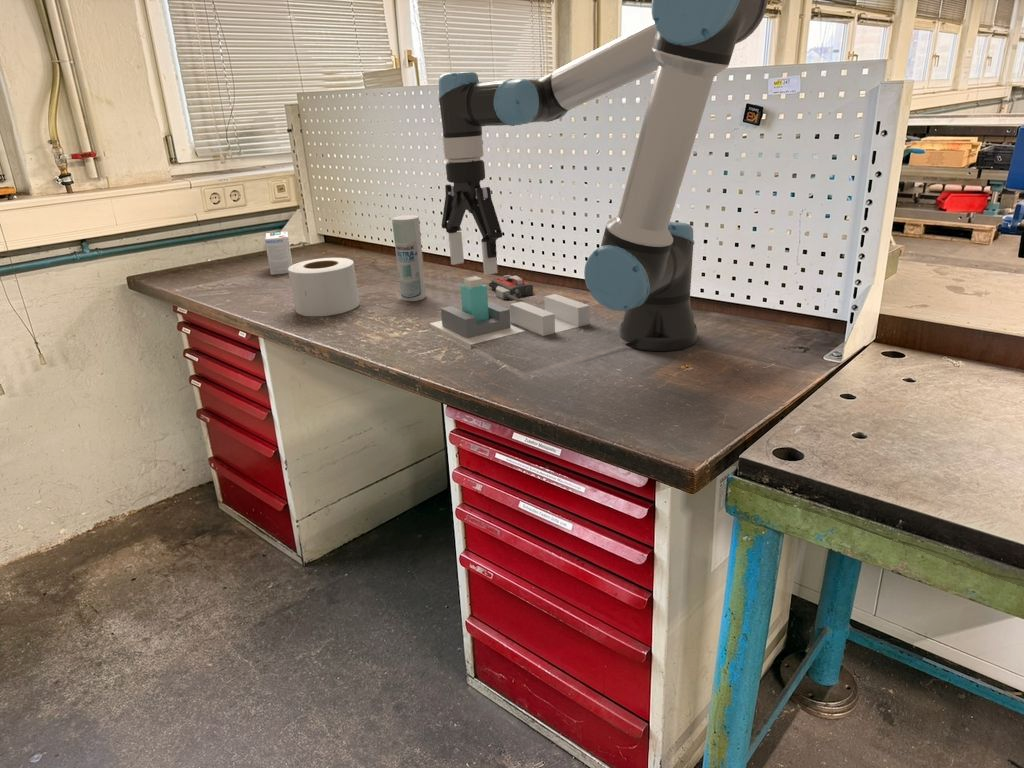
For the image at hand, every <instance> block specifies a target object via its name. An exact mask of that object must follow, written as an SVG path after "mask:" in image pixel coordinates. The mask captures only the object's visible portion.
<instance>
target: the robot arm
mask: <svg viewBox="0 0 1024 768" xmlns="http://www.w3.org/2000/svg"><path fill="white" fill-rule="evenodd" d="M767 7H768V0H651V16H652V20H651V21H648V22H647V23H644V24H643V25H641V26H639V27H638V28H635V29H633V30H632V31H630V32H628V33H626V34H623V35H621V36H620V37H618V38H616V39H614V40H612V41H610V42H608V43H606V44H605V45H602V46H600V47H599V48H596V49H594V50H592V51H591V52H589V53H587V54H585V55H583V56H581V57H579V58H577V59H575V60H573V61H571V62H569V63H567V64H565V65H563V66H561V67H559V68H558V69H555V70H554V71H553V72H550V73H547V74H546V75H544V76H542V77H539V78H536V79H525V78H521V79H520V78H509V79H505V80H496V81H495V80H494V81H485V82H482V81H479V76H478V74H477V72H474V71H461V72H459V71H458V72H448V73H443V74H441V75H440V77H439V78H438V102H439V109H440V115H441V125H442V142H443V152H444V159H445V160H447V162H446V164H445V172H446V180H447V182H448V184H445V185H444V186H445V187H444V188H445V189H444V190H445V191H444V192H445V198H444V203H443V205H444V206H443V212H442V220H441V229H445V231H446V233H448V234H447V235H448V242H449V244H448V245H449V246H448V247H449V254H450V264H451V265H460V264H465V258H464V248H463V247H464V246H463V236H462V231H463V230H462V228H461V225H462V222H463V219H464V216H465V213H466V211H468V213H469V214H472V217H473V219H474V221H475V223H476V225H477V228H478V229H479V231H480V232H479V233H480V234H481V236H482V239H481V241H480V242H481V253H482V265H483V266H482V267H483V275H485V276H488V275H493V274H498V260H497V259H498V257H497V255H498V254H497V240H498V239H500V238H502V237H503V232H502V228H501V225H500V222H499V218H498V216H497V212H496V209H495V205H494V203H493V199H492V192H491V188H490V186H486V187H485V186H484V187H481V182H482V181H483V180H485V178H486V169H485V168H486V167H485V161H484V160H483V159H481V158H483V157H484V148H483V147H484V140H483V127H487V126H488V127H489V126H490V127H495V126H500V127H501V126H510V127H515V126H521V125H526V124H527V125H528V124H530V123H541V122H544V123H545V122H546V123H549V122H553V121H556V120H559V119H561V118H563V117H564V116H566V114H567V113H568V111H570V110H572V109H575V108H576V107H579V106H581V105H584V104H586V103H587V102H590V101H592V100H594V99H596V98H598V97H601V96H603V95H606V94H607V93H610V92H611V91H614V90H616V89H618V88H620V87H623V86H626V85H627V84H629V83H632V82H634V81H637V80H639V79H640V78H643V77H645V76H648V75H649V74H652V73H654V72H656V73H655V76H654V80H653V83H652V88H651V91H650V95H649V98H648V102H647V106H646V109H645V112H644V113H645V114H644V117H643V120H642V124H641V129H640V132H639V134H638V140H637V143H636V146H635V147H636V148H635V151H634V155H633V157H632V162H631V165H630V169H629V173H628V177H627V181H626V185H625V189H624V192H623V195H622V199H621V203H620V206H619V210H618V214H617V216H616V217H613V218H612V219H610V220H608V221H607V223H606V225H605V229H604V232H603V236H602V240H601V243H600V244H601V245H600V246H599V247H598V248H596V249H595V250H593V252H592V253H591V254H590V255H589V256H588V258H587V260H586V262H585V266H584V274H583V275H584V282H585V286H586V288H587V290H589V292H590V294H591V296H592V298H593V299H594V300H595V301H596V302H597V303H598V304H600V305H601V306H602V307H604V308H606V309H607V310H611V311H614V312H623V311H625V313H624V314H623V315H624V316H623V320H622V322H621V323H620V326H619V337H620V338H621V339H622V340H624V341H625V342H626V343H624V345H626V346H628V347H631V348H634V349H636V350H637V349H638V350H643V351H651V352H652V351H653V352H668V351H669V352H671V351H678V350H683V349H686V348H689V347H691V346H693V345H694V344H696V342H697V341H698V326H697V324H696V323H695V319H694V313H693V309H692V304H691V287H692V273H693V272H692V271H693V255H694V245H695V240H694V228H693V226H692V225H690V224H689V223H686V222H677V221H671V219H672V215H673V211H674V209H675V206H676V202H677V199H678V196H679V192H680V189H681V186H682V184H683V179H684V176H685V173H686V170H687V168H688V167H687V166H688V164H689V160H690V156H691V153H692V150H693V147H694V144H695V142H696V141H695V140H696V139H697V138H696V137H697V135H698V130H699V127H700V124H701V121H702V118H703V115H704V111H705V108H706V105H707V101H708V98H709V96H710V92H711V88H712V86H713V82H714V80H715V77H716V76H717V75H718V74H719V73H721V72H723V70H725V69H728V67H729V65H730V63H731V59H732V56H733V53H734V50H735V47H736V44H738V43H741V42H743V41H744V40H746V39H747V38H748V37H750V36H751V35H752V34H753V33H754V32H756V30H757V28H759V26H760V24H761V22H762V21H763V19H764V16H765V14H766V10H767Z"/></svg>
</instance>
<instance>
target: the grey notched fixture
mask: <svg viewBox="0 0 1024 768" xmlns="http://www.w3.org/2000/svg"><path fill="white" fill-rule="evenodd" d="M440 313H441V320H439V321H434V322H430V323H429V328H430V329H431V330H433V331H436V332H437V333H439V334H441V335H443V336H445V337H446V338H449V339H450V340H452V341H455V342H456V343H458V344H460V345H462V346H464V347H466V348H468V349H470V350H475V349H477V347H476V346H474V345H476V344H479V343H483V342H488V341H491V340H495V339H499V338H502V337H506V336H511V335H516V334H518V333H522V332H525V330H524V329H522V328H520V327H517V326H515V325H512V324H511V315H510V308H507V307H504V306H502V305H500V304H498V303H494V302H491V301H490V300H488V314H489V320H485V321H480V322H476V317H475V316H472V315H470V314H468V313H466V312H463V311H462V309H459V308H456V307H454V306H452V305H449V306H444V307H441V308H440Z"/></svg>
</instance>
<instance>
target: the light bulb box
mask: <svg viewBox="0 0 1024 768" xmlns="http://www.w3.org/2000/svg"><path fill="white" fill-rule="evenodd" d="M264 235H265V237H264V243H265V249H266V255H267V260H268V266H269V271H270V272H269V273H270V275H271V276H273V275H283V274H289V272H288V268H289V267H290V266H292V265H294V264H293V260H292V252H291V245H290V239H289V233H288V231H277V232H267V233H266V232H265V233H264Z"/></svg>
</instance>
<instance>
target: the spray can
mask: <svg viewBox="0 0 1024 768" xmlns="http://www.w3.org/2000/svg"><path fill="white" fill-rule="evenodd" d="M391 221H392V222H391V223H392V230H393V232H392V233H393V239H394V247H395V248H394V249H395V255H396V258H395V259H396V263H397V264H396V265H397V275H398V282H399V291H400V298H401V300H402V301H405V302H416V301H421V300H424V299H425V298H426V297H427V293H426V283H425V271H424V270H425V269H424V261H423V258H424V257H423V249H422V237H421V227H420V216H419V215H412V214H410V215H409V214H407V215H398V216H394V217H392V218H391Z"/></svg>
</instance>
